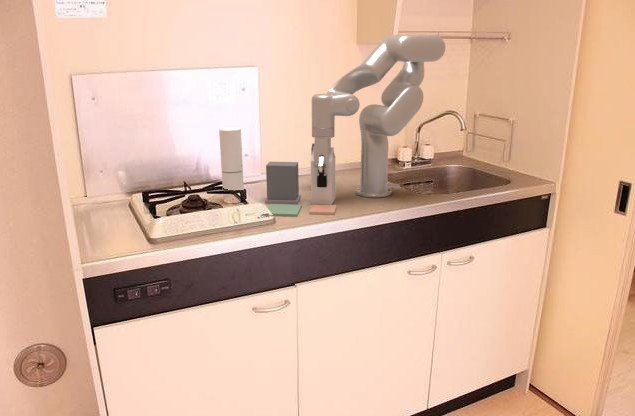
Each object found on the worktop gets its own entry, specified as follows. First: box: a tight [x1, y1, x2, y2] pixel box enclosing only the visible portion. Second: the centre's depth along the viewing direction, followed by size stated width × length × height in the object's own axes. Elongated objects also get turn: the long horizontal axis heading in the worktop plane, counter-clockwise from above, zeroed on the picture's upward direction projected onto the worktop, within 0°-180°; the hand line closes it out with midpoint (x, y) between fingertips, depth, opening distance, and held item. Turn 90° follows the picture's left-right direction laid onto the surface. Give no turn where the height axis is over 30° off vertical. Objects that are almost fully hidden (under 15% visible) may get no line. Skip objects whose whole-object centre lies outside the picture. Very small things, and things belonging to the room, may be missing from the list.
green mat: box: [266, 203, 303, 218], centre depth 174 cm, size 11×10×1 cm
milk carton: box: [310, 146, 336, 205], centre depth 181 cm, size 7×7×19 cm
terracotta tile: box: [308, 204, 337, 216], centre depth 174 cm, size 8×8×1 cm
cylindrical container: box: [218, 126, 245, 198], centre depth 182 cm, size 7×7×25 cm
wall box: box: [265, 161, 302, 205], centre depth 183 cm, size 11×8×13 cm
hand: (323, 183), depth 182 cm, fingers closed on milk carton, 7 cm apart
